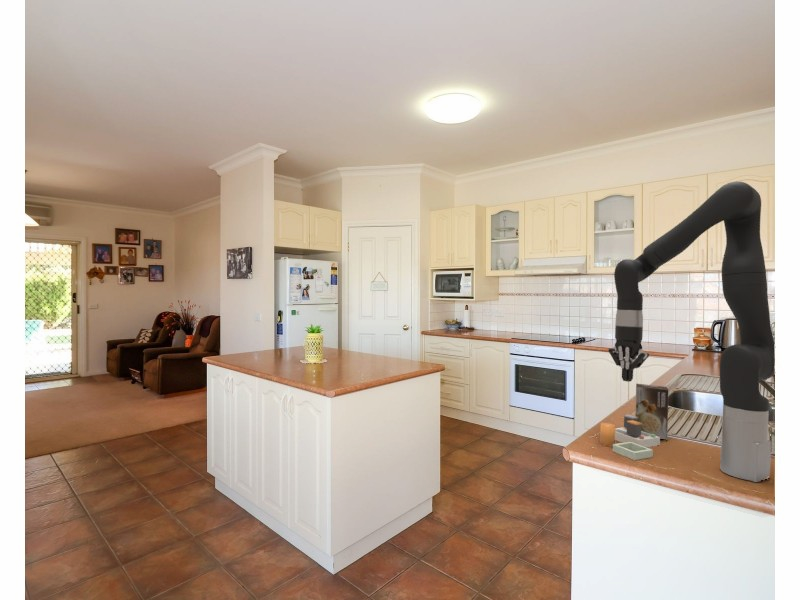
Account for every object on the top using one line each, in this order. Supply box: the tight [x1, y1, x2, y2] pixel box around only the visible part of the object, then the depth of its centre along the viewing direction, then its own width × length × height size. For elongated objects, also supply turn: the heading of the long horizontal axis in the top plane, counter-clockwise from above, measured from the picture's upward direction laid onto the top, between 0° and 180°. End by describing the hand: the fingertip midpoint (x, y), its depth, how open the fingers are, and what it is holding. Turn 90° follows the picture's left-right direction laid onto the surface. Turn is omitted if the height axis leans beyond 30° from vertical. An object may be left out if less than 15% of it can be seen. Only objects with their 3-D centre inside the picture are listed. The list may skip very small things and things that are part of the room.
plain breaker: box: [623, 414, 638, 428], centre depth 141 cm, size 3×2×4 cm
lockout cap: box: [599, 422, 616, 448], centre depth 134 cm, size 4×4×6 cm
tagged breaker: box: [627, 420, 642, 437], centre depth 135 cm, size 3×2×4 cm
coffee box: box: [634, 383, 669, 441], centre depth 144 cm, size 9×6×16 cm
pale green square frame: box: [612, 442, 654, 461], centre depth 126 cm, size 7×7×2 cm
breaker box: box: [615, 426, 661, 448], centre depth 138 cm, size 11×9×3 cm
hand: (627, 380), depth 137 cm, fingers closed
